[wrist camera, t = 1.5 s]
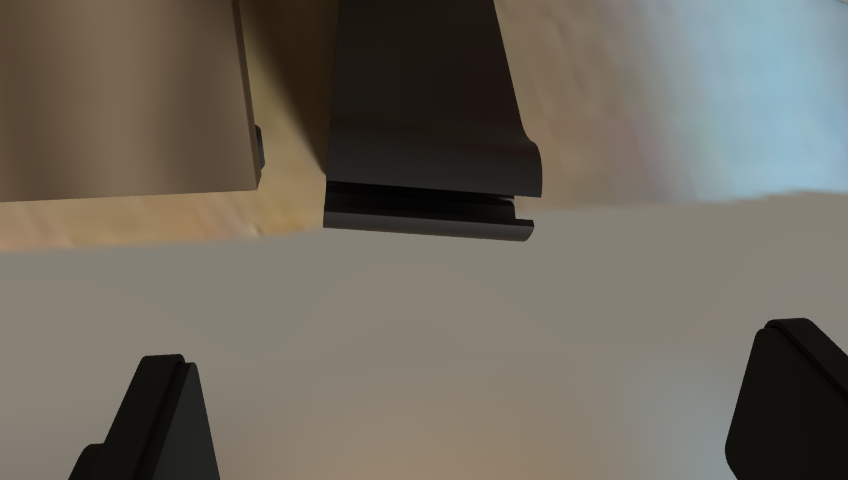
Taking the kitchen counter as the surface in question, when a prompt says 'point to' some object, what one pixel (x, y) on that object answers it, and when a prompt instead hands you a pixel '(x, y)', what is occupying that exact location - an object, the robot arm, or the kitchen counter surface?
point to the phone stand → (426, 123)
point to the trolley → (124, 99)
